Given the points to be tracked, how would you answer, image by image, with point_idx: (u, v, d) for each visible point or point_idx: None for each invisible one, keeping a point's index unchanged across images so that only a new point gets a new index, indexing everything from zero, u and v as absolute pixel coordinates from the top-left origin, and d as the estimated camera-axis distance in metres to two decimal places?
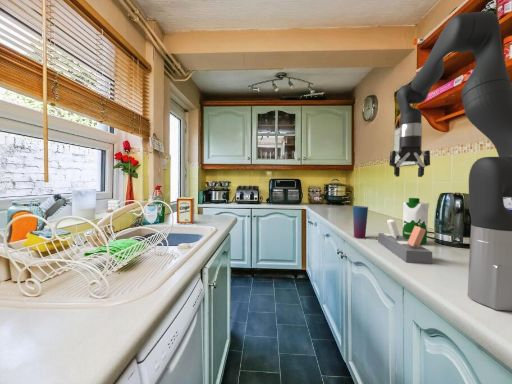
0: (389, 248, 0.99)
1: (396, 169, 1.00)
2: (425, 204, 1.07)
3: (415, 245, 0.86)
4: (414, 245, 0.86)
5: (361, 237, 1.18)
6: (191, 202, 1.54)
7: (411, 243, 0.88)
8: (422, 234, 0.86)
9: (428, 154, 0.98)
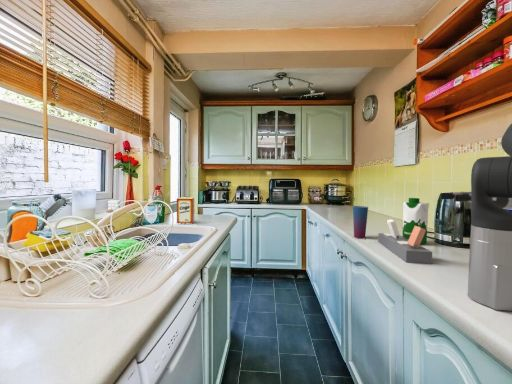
0: (389, 248, 0.99)
1: None
2: (425, 204, 1.07)
3: (415, 245, 0.86)
4: (414, 245, 0.86)
5: (361, 237, 1.18)
6: (191, 202, 1.54)
7: (411, 243, 0.88)
8: (422, 234, 0.86)
9: None
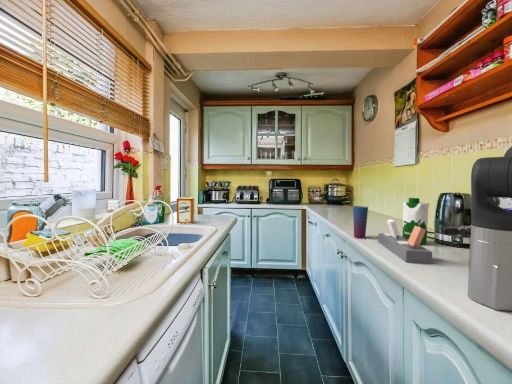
0: (389, 248, 0.99)
1: None
2: (425, 204, 1.07)
3: (415, 245, 0.86)
4: (414, 245, 0.86)
5: (361, 237, 1.18)
6: (191, 202, 1.54)
7: (411, 243, 0.88)
8: (422, 234, 0.86)
9: None
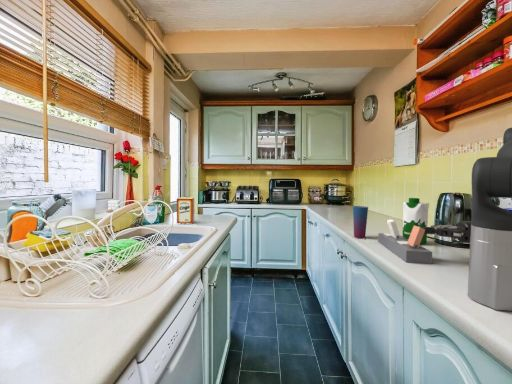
0: (389, 248, 0.99)
1: None
2: (425, 204, 1.07)
3: (415, 245, 0.86)
4: (414, 245, 0.86)
5: (361, 237, 1.18)
6: (191, 202, 1.54)
7: (411, 243, 0.88)
8: (421, 234, 0.86)
9: (455, 230, 0.82)
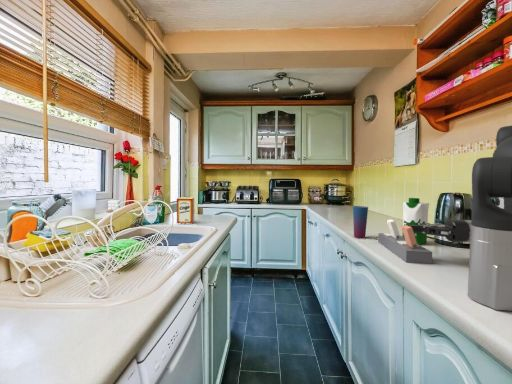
0: (389, 248, 0.99)
1: None
2: (425, 204, 1.07)
3: (414, 245, 0.86)
4: (413, 246, 0.87)
5: (361, 237, 1.18)
6: (191, 202, 1.54)
7: (409, 245, 0.88)
8: (412, 233, 0.86)
9: (442, 228, 0.82)
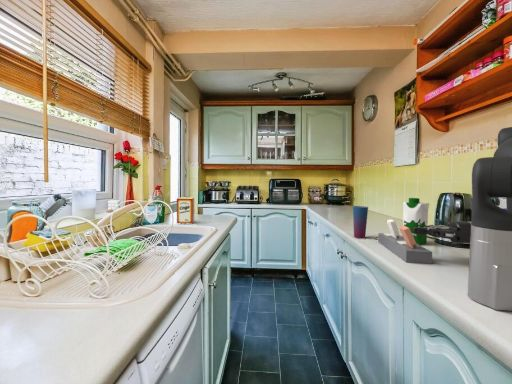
0: (389, 248, 0.99)
1: None
2: (425, 204, 1.07)
3: (413, 245, 0.86)
4: (413, 246, 0.87)
5: (361, 237, 1.18)
6: (191, 202, 1.54)
7: (409, 245, 0.88)
8: (410, 233, 0.86)
9: (447, 231, 0.82)
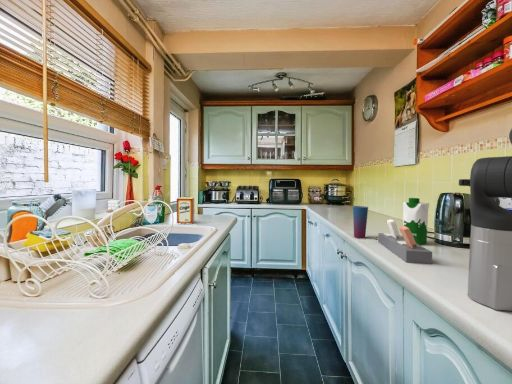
0: (389, 248, 0.99)
1: None
2: (425, 204, 1.07)
3: (413, 246, 0.86)
4: (413, 246, 0.87)
5: (361, 237, 1.18)
6: (191, 202, 1.54)
7: (409, 245, 0.88)
8: (410, 233, 0.86)
9: None
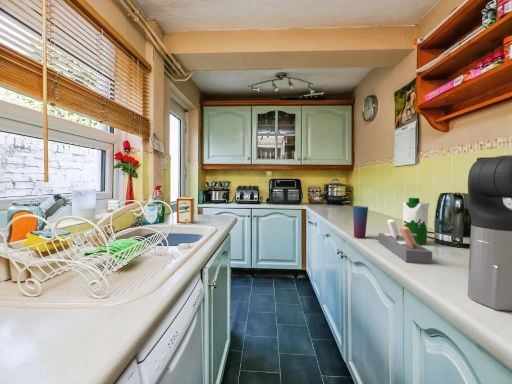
0: (389, 248, 0.99)
1: None
2: (425, 204, 1.07)
3: (413, 246, 0.86)
4: (413, 246, 0.87)
5: (361, 237, 1.18)
6: (191, 202, 1.54)
7: (409, 245, 0.88)
8: (410, 233, 0.86)
9: None
